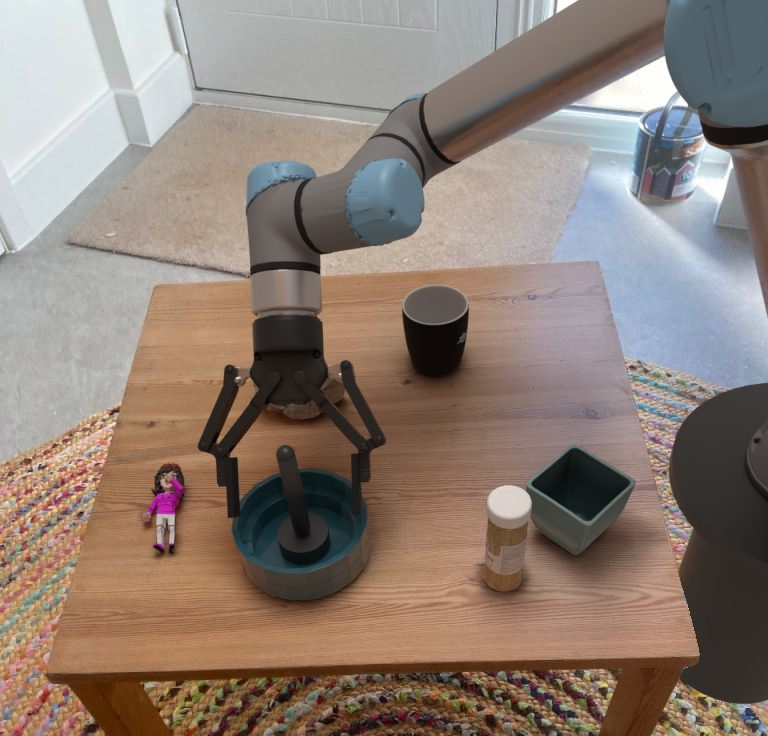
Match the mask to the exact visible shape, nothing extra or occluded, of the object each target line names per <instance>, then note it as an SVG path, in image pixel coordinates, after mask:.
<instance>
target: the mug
mask: <svg viewBox="0 0 768 736" xmlns="http://www.w3.org/2000/svg"><path fill="white" fill-rule="evenodd" d="M401 303H402V304H401V315H402V316H401V317H402V325H403V333H404V339H405V344H406V347H407V352H408V355H409V358H410V361H411V363H412V365H413V367H414V368H415V369H416V370H417V372H419V373H420V374H422V375H424V376H426V377H434V378H439V377H444V376H445V377H446V376H447V375H450V374H451V373H453V372H454V371H455V370H457V368H458V367H459V365H460V364H461V361H462V359H463V356H464V352H465V347H466V342H467V335H468V329H469V318H470V317H469V316H470V315H469V314H470V303H469V299H468V297H467V295H466V294H465V293H464V292H463V291H461V290H460V289H458V288H457V287H454V286H451V285H446V284H426V285H423V286H419V287H417V288H415V289H413V290H411V291H410V292H408V294H407V295H405V297H404V299H403V301H402V302H401Z"/></svg>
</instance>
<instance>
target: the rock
mask: <svg viewBox="0 0 768 736" xmlns="http://www.w3.org/2000/svg"><path fill="white" fill-rule="evenodd" d="M252 386H253V388H254V395H255V394H256V393H257V391H258V390H259V388H258V387H257V386H256V385H255V383H254V382H252ZM321 390H322V391H323V392H324V394H325V395H326V396H327V397H328V398H329V399H330V400H331V402H332V403H333V404H334V405H335V404H337V403H338V402H340V401H341V400H342V399H344V398H345V393H346V389H345V387H344V384H343V383H339V382H337V381H336V379H335V377H334V376H333V375H329V376H328V378H327V380H326V381H325V383H324V384H323V386H322V387H321ZM265 410H267V411H268V412H276V411H277V412H279V413H283V416H287V417H288V418H289V419H294V420H306V419H313V418H316V417H318V416H319V415H320V414H321V413H324V412H323V411H322V410H321V409H320V408H319V407H318V406H317V405H316V404H315V402H314V401H313V400H312V401H311V402H310V403H308V404H307V405H297V404H289V405H286V406H277V405H274V404H272V403H270V404H269V405H268V406H267V408H266V409H265Z"/></svg>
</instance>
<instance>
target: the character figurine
mask: <svg viewBox="0 0 768 736" xmlns="http://www.w3.org/2000/svg"><path fill="white" fill-rule="evenodd" d="M179 465H180V464H179V463H174V462H167V463H162V465H161V466H159V469H158V470H157V472H156V474H155V475H154V476H153V478H154V480H153V481H154V483H153V484H154V488H151V489H150V491H151V493H152V494H153V495H154V496H155V497H154V498H153V500H152V502H151V504H150V505H149V507H148V510H147V511H145V512H143V514H142V516H141V519H142V522H143V523H147V522H150V521H151V519H152V515H153V513H154V511H155V523H156V525H155V526H156V541H157V542H156V543H153V544H152V548H153V549H155V551H157V552H159V554H160V553H164V552H165V550H166V549H165V541H166V539H165V530H166V529H167V531H168V532H169V541H168V553H174V550H175V537H176V530H175V527H176V525H175V523H176V522H175V521H176V508H178V507H179V505H180V504H179V503H180V501H181V500H182V498H183V497H185V494H184V490H185V476H184V474H183V472H182V467H181V466H179ZM155 509H156V510H155Z"/></svg>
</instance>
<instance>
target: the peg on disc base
mask: <svg viewBox="0 0 768 736" xmlns="http://www.w3.org/2000/svg"><path fill="white" fill-rule="evenodd" d="M275 457H276V460H277V465H278V470H279V472H280V474H281V479H282V483H283V487H284V492H285V496H286V500H287V504H288V509H289V513H290V516H289V517H288V518H286V519H285V520H284V521H283V522H282V523H281V525H280V526H279V528H278V531H277V538H278V542H279V546H280V550H281V553H282V555H283V556H284V558H285V559H287V560H288V561H290V562H292V563H294V564H298V565H307V564H312V563H315V562H317V561H319V560H320V559H322V558H323V557H324V556H325V555H326V554H327V553H328V551H329V549H330V545H331V540H330V534H329V529H328V525H327V523H326V521H325V520H324V519H323V518H322V517H321V516H319V515H317V514H314V513H310V512H307V507H306V502H305V498H304V493H303V488H302V483H301V478H300V473H299V468H300V467H299V464H298V459H297V453H296V450H295V449H294V447H292V446H291V445H290V444H282V445H280V446H279V447H277V450H276V452H275Z"/></svg>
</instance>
